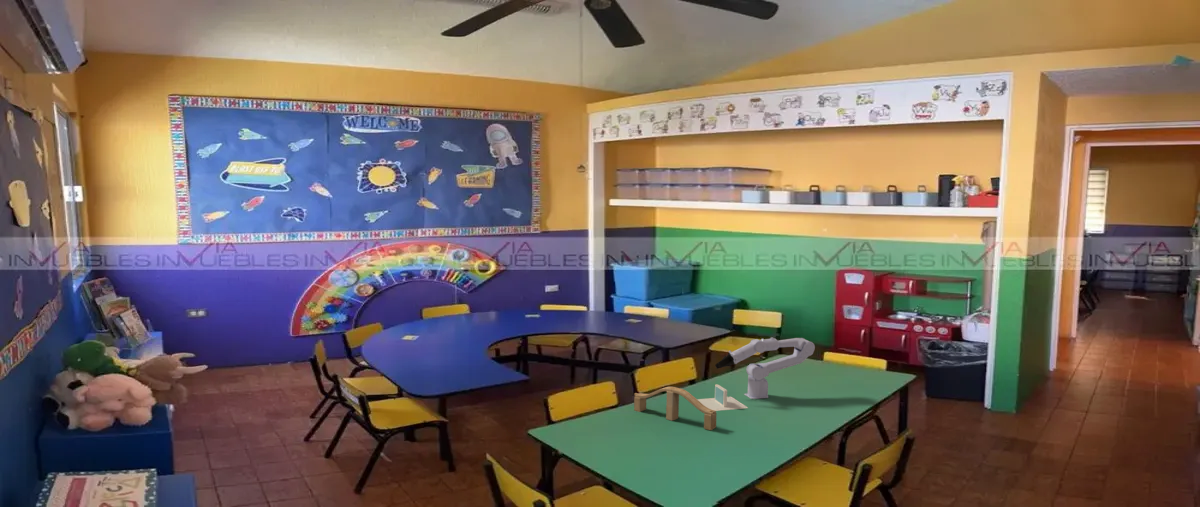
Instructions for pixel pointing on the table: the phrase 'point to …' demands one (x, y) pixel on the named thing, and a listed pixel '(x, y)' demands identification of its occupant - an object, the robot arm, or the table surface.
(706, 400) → the mat
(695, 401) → the toy bridge
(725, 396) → the tile
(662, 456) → the table surface
